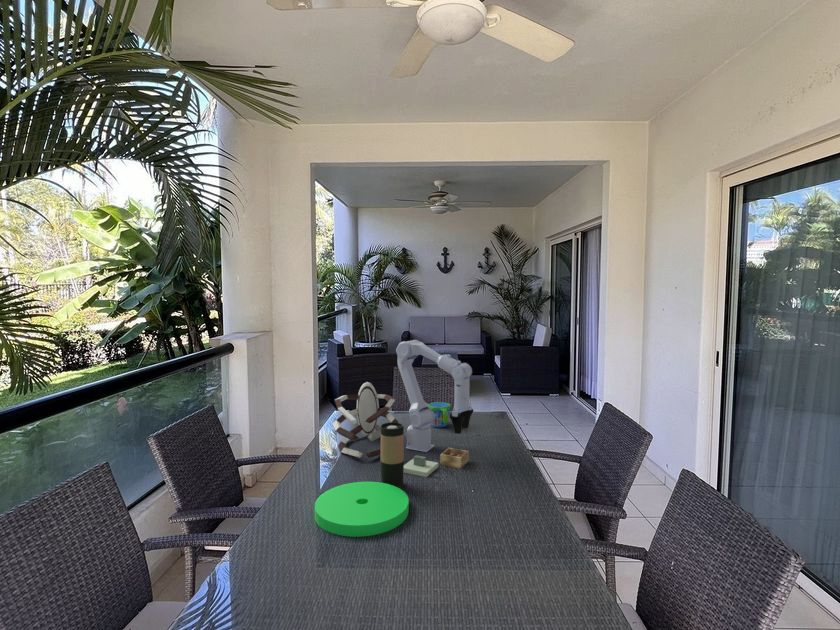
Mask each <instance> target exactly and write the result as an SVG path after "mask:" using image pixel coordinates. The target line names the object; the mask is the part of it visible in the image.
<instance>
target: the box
mask: <svg viewBox="0 0 840 630" xmlns="http://www.w3.org/2000/svg"><path fill="white" fill-rule="evenodd" d="M439 456H440V457H439V465H440V466H443V467H447V468H448V467H449V468H454V469H457V470H459V469H460V470H461V469H462V468H464V467H465V465H467V463H469V450H464V449H459V448H454V447H447V448H446V449H445V450H443V452H441V453H440V455H439Z"/></svg>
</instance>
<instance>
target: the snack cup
mask: <svg viewBox="0 0 840 630" xmlns="http://www.w3.org/2000/svg"><path fill="white" fill-rule="evenodd" d="M428 404H429V407H430V409H431V410H432V411H433V413H434V419H433V421H432V422H431V426H432V427H434V428H446V427H447V426H448V424H449V418H450V409H451V408H452V404H450V403H448V402H444V401H442V402H441V401H435V402H431V403H428Z"/></svg>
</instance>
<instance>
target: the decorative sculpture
mask: <svg viewBox="0 0 840 630" xmlns="http://www.w3.org/2000/svg"><path fill="white" fill-rule="evenodd" d="M379 399H380V400H386V402H387V403H386V404H385V406H383V407H382V408H380V405H379ZM348 400H349V401H351V400H352V401H354V400H356V408H355V409H352V410H349V411H347V410H346V409H345V407H344V406H343V404H342V402H343V401H348ZM395 401H396V399H395V398H394V397H393V396H391V395H389V394H383V393H380V394H379V393H377V391H376V388H375V387H374V385H373V384H372V382H368V381H366V382H364V383H363V384H362V385H361V386H360V388H359V390H358V394H345V395H341V396H339V397H337V398H335V399H334V403H335V405H336V408H337V410H338V411H339V413H340V414H341V415H340V416H339V417H338V418H337V419H335V421H333V423H332V426H333V429H334V431H336V433H338V435H340V436H342V437H343V438H342V439H341V440H340V442H339V443H338V444H337V447H338V449H339V451H340V453H343V454H345V455H348V456H353V457H356V458H360V459H361V457H362V456H363V454H364V453H362V452H361V451H358V450H356V449H351V448H349V447H348V446H347V443H348V441H349V440H350V441H352V442H356V441H357V440H358V439H359V437H358V436H357V434H359V433H361V432H362V433H363V434H364V435H366V436H367V439H368V440H370V441H371V442H373V441H376V440H377V439H379V438H380V439H381V425H379V423H378V422H379V418H380V417H383V418H386V419H388V420H389V422H390V423H392V422H394V423H399V421H398V420H397V418H396V417H395V416H394V415H393V414H392V413H391V412H390V411H389V410H390V408H391V407H392V406H393V404H394V402H395ZM356 417H357V419H356ZM346 420H348V421H349V422H351V424H353V425H356V424H358V425H357V426H356V427H354V428H353V429H351V430H350V431H349V430H347V429H346V428H343V427H342V425H341V424H342V423H343V422H344V421H346ZM365 455H366V457H368V459H369V458H373V457H376V456H381V448H380V449H376V450H372V451H369V452H366V453H365Z"/></svg>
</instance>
